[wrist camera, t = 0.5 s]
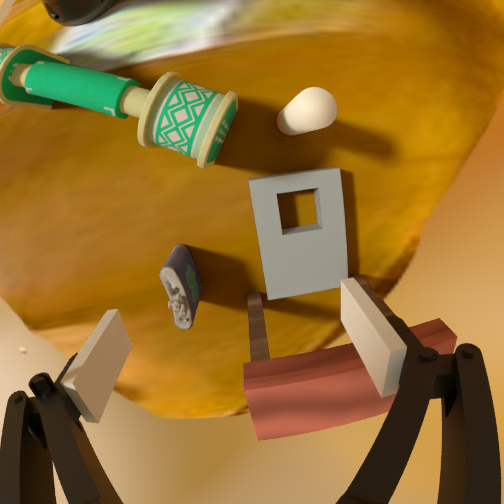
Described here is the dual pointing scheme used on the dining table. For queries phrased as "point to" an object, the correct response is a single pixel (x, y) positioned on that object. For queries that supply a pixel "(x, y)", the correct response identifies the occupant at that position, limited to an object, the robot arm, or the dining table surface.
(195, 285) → the flask
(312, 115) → the peg
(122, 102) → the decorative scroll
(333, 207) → the socket block
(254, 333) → the curved red bench
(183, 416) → the dining table surface
